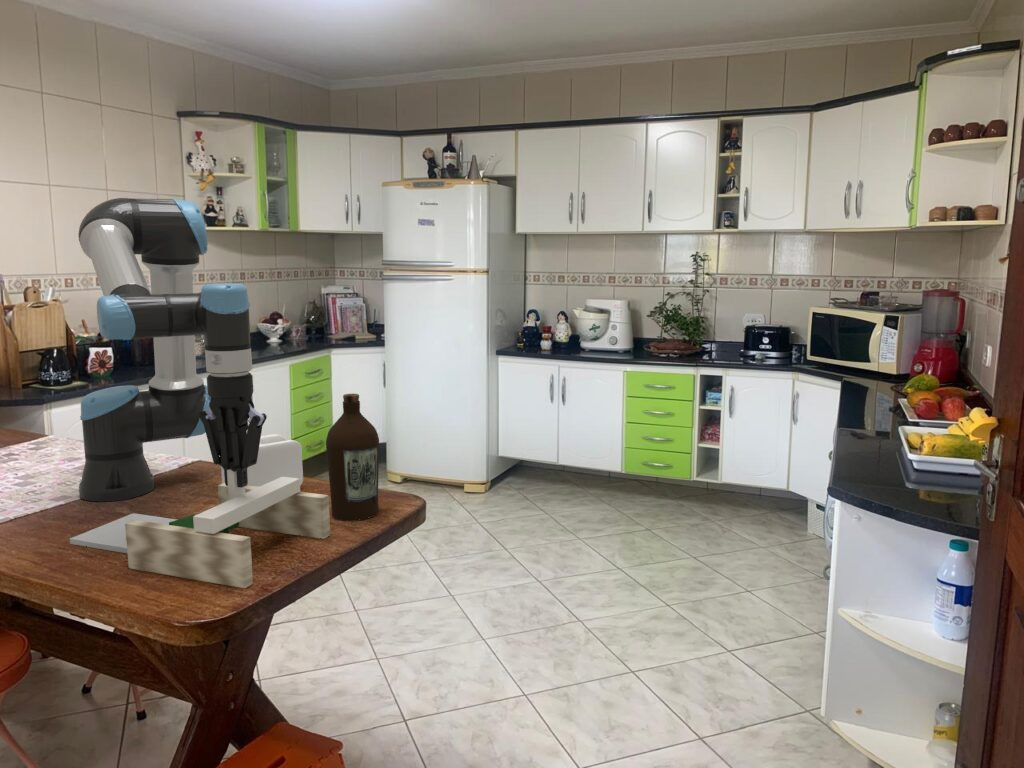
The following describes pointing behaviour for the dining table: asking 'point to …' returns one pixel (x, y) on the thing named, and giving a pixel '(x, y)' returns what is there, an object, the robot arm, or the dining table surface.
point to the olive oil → (353, 463)
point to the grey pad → (113, 533)
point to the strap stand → (222, 540)
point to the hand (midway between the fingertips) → (237, 503)
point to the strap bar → (245, 505)
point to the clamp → (189, 523)
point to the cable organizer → (275, 461)
